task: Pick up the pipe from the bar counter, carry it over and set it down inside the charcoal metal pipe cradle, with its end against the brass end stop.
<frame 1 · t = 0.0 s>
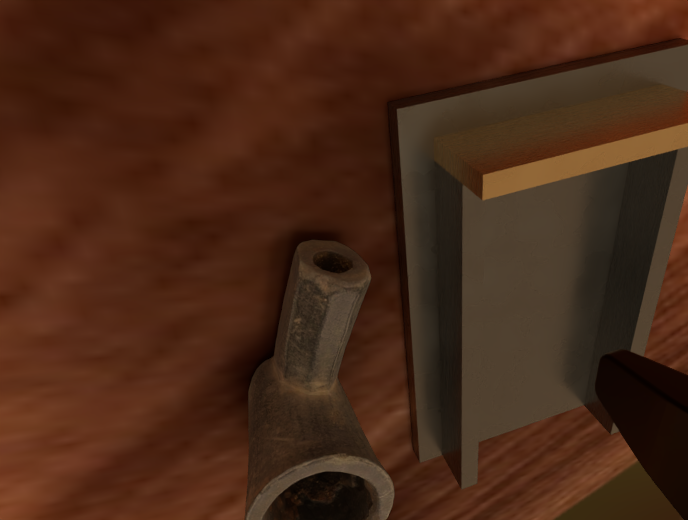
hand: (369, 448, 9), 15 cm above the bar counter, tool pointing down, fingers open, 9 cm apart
pipe cradle: (524, 277, 29), on the bar counter
pipe: (288, 342, 27), on the bar counter
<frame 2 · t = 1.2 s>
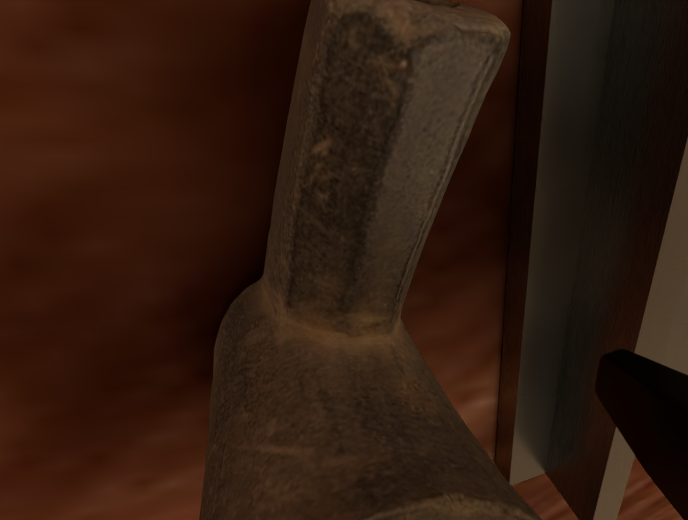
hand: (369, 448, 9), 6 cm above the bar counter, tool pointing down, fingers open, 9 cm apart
pipe: (294, 255, 14), on the bar counter
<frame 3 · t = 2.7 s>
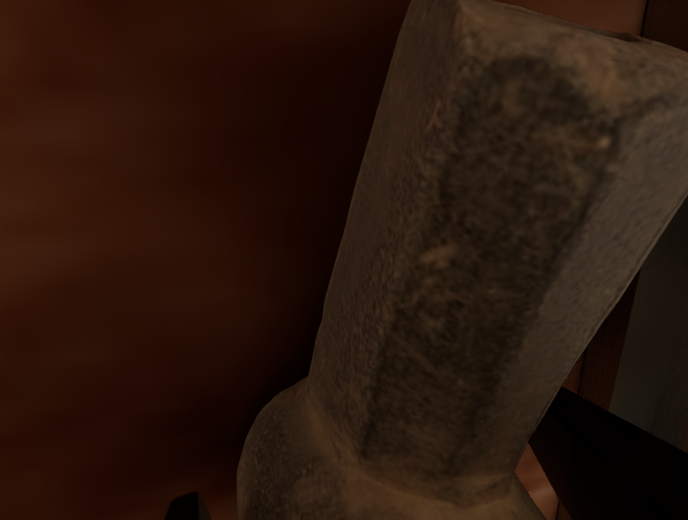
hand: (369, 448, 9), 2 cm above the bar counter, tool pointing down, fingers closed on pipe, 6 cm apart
pipe: (337, 343, 11), on the bar counter, touching gripper
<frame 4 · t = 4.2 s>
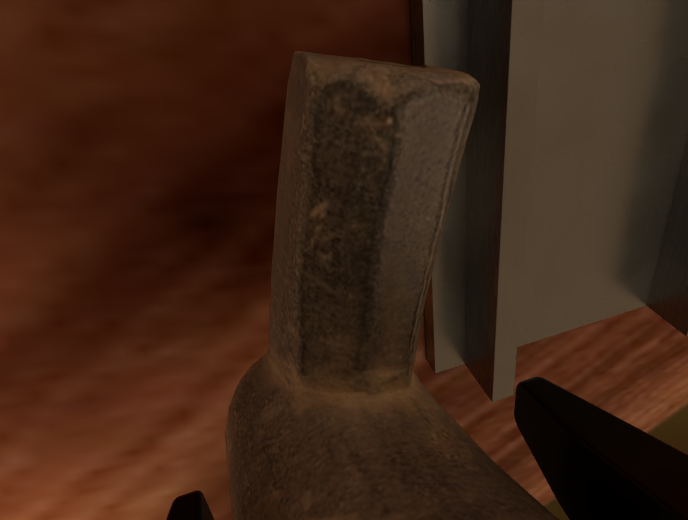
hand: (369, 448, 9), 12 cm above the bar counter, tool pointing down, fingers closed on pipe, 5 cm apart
pipe cradle: (582, 101, 21), on the bar counter
pipe: (294, 326, 14), point 7 cm above the bar counter, touching gripper
when the fingers open (7 cm above the bar counter, at t = 6.0 s): pipe drops 1 cm, resting on pipe cradle.
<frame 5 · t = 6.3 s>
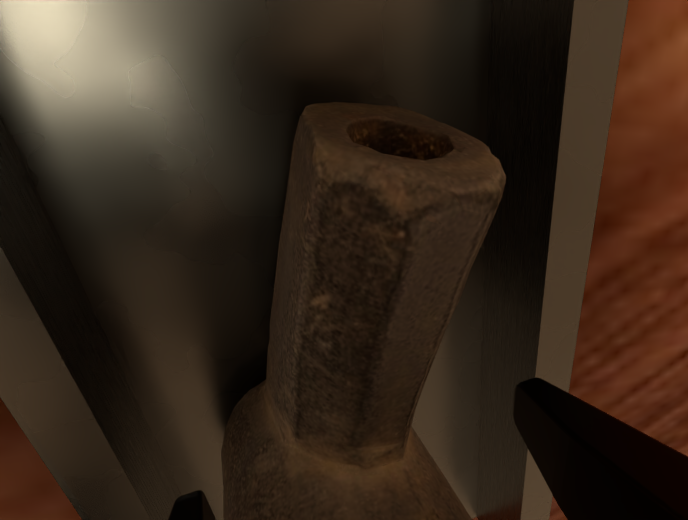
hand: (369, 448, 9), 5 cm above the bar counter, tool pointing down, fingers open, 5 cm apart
pipe cradle: (305, 297, 14), on the bar counter
pipe: (293, 349, 13), point 1 cm above the bar counter, touching pipe cradle
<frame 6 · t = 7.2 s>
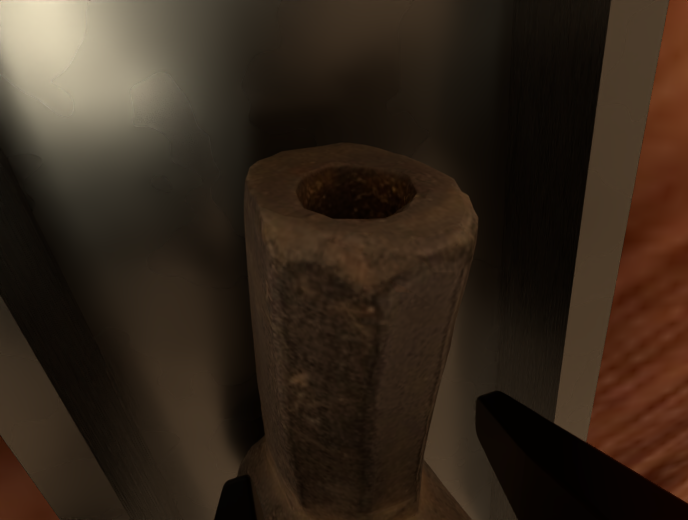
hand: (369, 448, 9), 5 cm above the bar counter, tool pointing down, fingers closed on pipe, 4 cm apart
pipe cradle: (314, 319, 13), on the bar counter
pipe: (291, 394, 13), point 1 cm above the bar counter, touching gripper, pipe cradle
when the fingers open (5 cm above the bar counter, at t = 7.2 s): pipe stays where it is, resting on pipe cradle.
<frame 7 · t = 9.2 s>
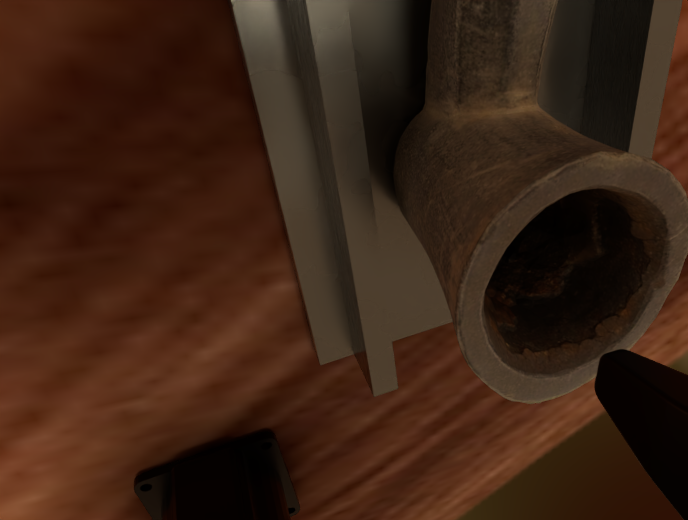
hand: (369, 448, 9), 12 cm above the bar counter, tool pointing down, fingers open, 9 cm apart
pipe cradle: (455, 52, 18), on the bar counter
pipe: (438, 93, 18), point 1 cm above the bar counter, touching pipe cradle
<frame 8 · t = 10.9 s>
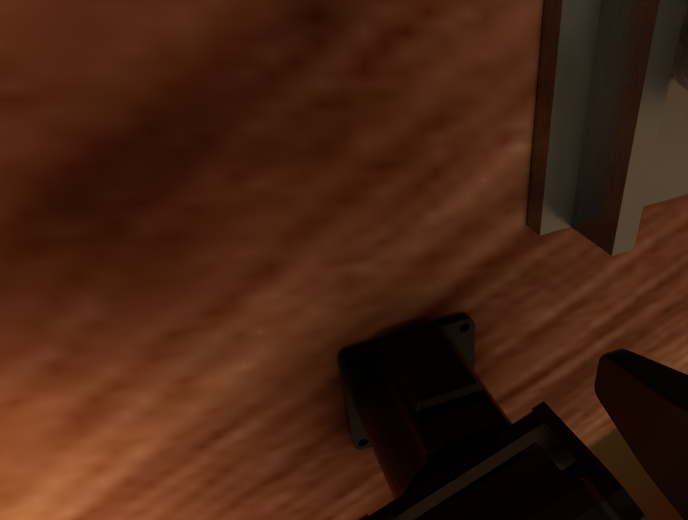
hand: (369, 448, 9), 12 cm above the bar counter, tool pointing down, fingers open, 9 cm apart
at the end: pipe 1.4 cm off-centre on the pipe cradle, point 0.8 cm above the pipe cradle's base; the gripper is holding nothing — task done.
